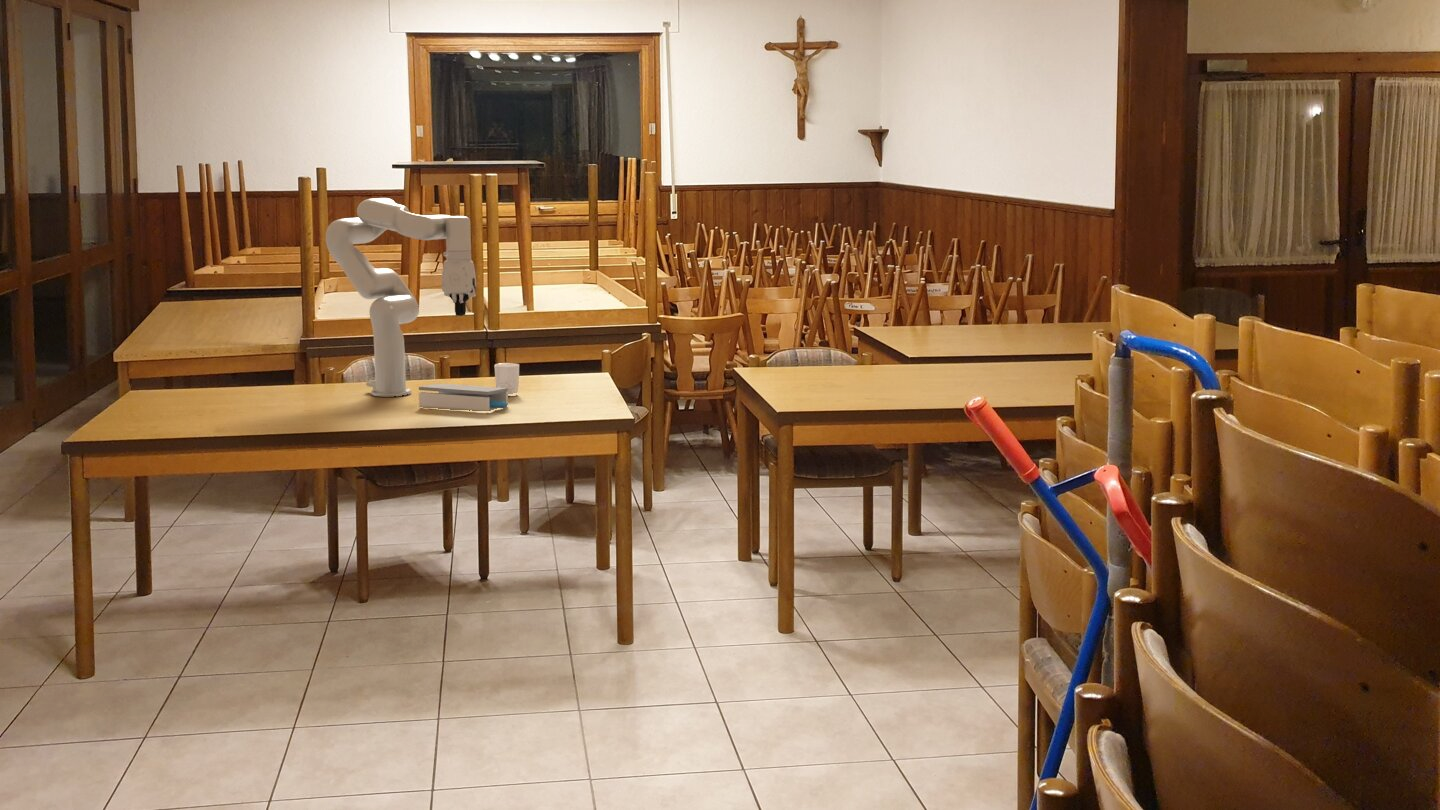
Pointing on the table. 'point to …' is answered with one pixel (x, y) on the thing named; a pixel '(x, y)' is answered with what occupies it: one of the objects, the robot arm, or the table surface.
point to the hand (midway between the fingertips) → (460, 315)
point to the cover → (463, 389)
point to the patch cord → (498, 404)
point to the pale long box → (460, 400)
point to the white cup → (507, 376)
